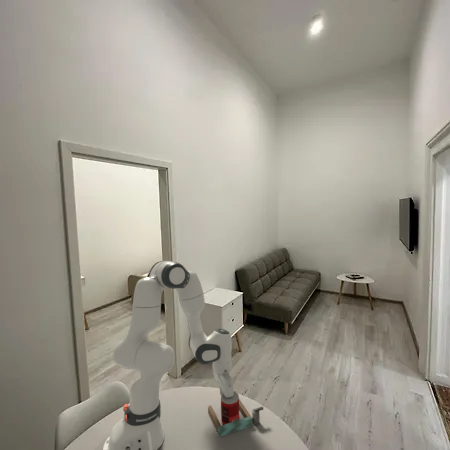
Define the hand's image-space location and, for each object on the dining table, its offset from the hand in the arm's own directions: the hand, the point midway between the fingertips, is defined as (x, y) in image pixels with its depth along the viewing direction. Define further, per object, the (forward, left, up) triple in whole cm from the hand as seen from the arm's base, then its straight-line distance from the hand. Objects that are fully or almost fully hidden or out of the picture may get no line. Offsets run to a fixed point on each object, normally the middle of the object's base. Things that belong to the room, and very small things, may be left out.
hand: (222, 396), depth 119 cm
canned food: (0, -9, -6) cm, 11 cm away
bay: (+3, -7, -6) cm, 10 cm away
